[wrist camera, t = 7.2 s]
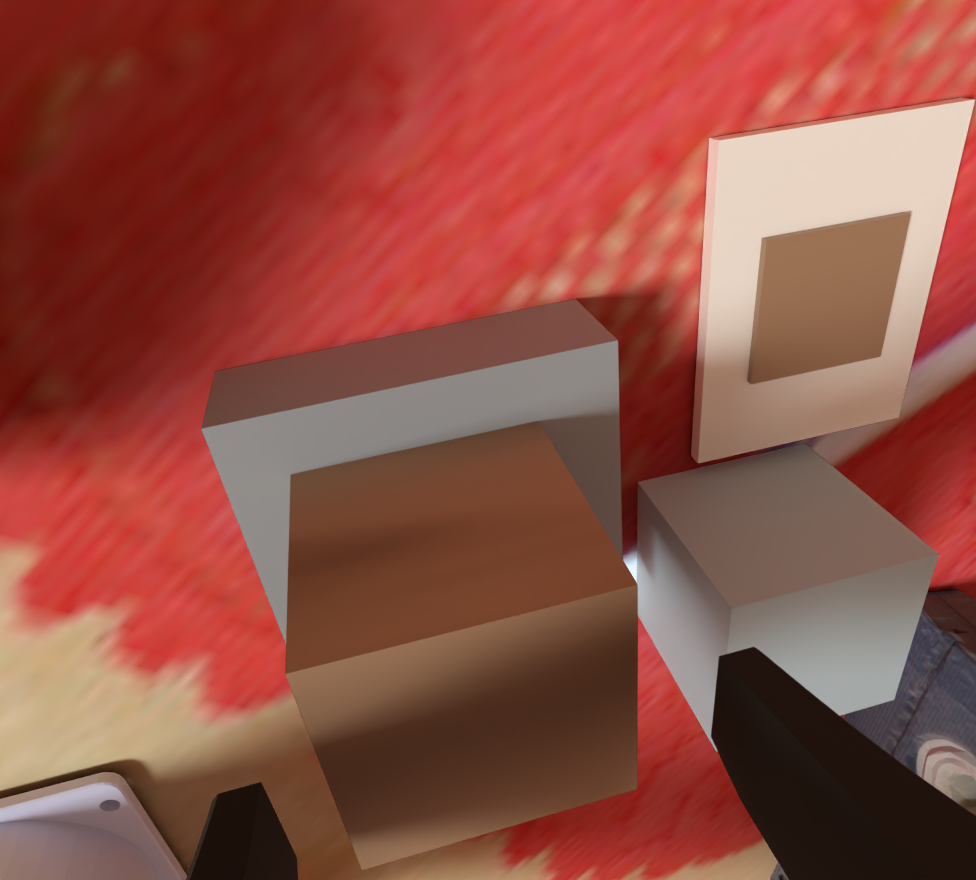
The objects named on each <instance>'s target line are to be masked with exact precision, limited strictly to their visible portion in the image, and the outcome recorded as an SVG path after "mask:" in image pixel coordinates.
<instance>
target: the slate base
mask: <svg viewBox="0 0 976 880" xmlns="http://www.w3.org/2000/svg"><path fill="white" fill-rule="evenodd" d="M536 421H539V423H540V425H541V426H542V428H543V430H544V431H545V433H546V435H547V436H548V438H549V439H550V441H551V443H552V444H553V446H554V448H555V449H556V451H557V453H558V454H559V456H560V458H561V459H562V461H563V463H564V464H565V466H566V467H567V469H568V471H569V472H570V474H571V476H572V477H573V479H574V481H575V482H576V484H577V486H578V487H579V489H580V491H581V492H582V494H583V495H584V497H585V499H586V500H587V502H588V504H589V505H590V507H591V509H592V510H593V512H594V514H595V515H596V517H597V519H598V520H599V522H600V523H601V525H602V527H603V528H604V530H605V532H606V533H607V535H608V537H609V538H610V540H611V542H612V543H613V545H614V547H615V548H616V550H617V551H618V553H619V555H620V556H621V558H622V560H623V553H622V506H621V458H620V411H619V364H618V340H617V339H616V338H615V337H614V336H613V335H612V334H611V333H610V332H609V331H608V330H607V329H606V328H605V327H604V326H603V325H602V324H601V323H600V322H599V321H598V320H597V319H596V318H595V317H594V316H593V315H592V314H591V313H590V312H588V311H587V310H586V309H585V308H584V307H583V306H582V305H581V304H580V303H579V302H578V301H577V300H576V299H572V300H567V301H562V302H557V303H552V304H547V305H542V306H537V307H532V308H527V309H522V310H517V311H512V312H507V313H502V314H497V315H493V316H488V317H483V318H478V319H473V320H468V321H463V322H458V323H453V324H448V325H443V326H438V327H433V328H428V329H423V330H418V331H413V332H408V333H403V334H398V335H393V336H388V337H383V338H378V339H373V340H368V341H363V342H358V343H353V344H348V345H343V346H338V347H334V348H329V349H324V350H319V351H314V352H309V353H304V354H299V355H294V356H289V357H284V358H279V359H274V360H269V361H264V362H259V363H254V364H249V365H244V366H239V367H234V368H229V369H224V370H219V371H215V374H214V378H213V382H212V386H211V390H210V394H209V399H208V403H207V407H206V411H205V415H204V419H203V423H202V428H201V430H202V432H203V435H204V437H205V440H206V442H207V445H208V447H209V450H210V452H211V455H212V458H213V460H214V463H215V465H216V468H217V470H218V473H219V475H220V478H221V480H222V483H223V485H224V488H225V491H226V493H227V496H228V498H229V501H230V503H231V506H232V508H233V511H234V513H235V516H236V519H237V521H238V524H239V526H240V529H241V531H242V534H243V536H244V539H245V541H246V544H247V546H248V549H249V552H250V554H251V557H252V559H253V562H254V564H255V567H256V569H257V572H258V574H259V577H260V580H261V582H262V585H263V587H264V590H265V592H266V595H267V597H268V600H269V602H270V605H271V607H272V610H273V613H274V615H275V618H276V620H277V623H278V625H279V628H280V630H281V633H282V635H283V638H284V641H285V643H286V628H287V589H288V551H289V513H290V475H291V474H295V473H299V472H304V471H309V470H313V469H318V468H322V467H327V466H332V465H336V464H341V463H346V462H350V461H355V460H359V459H364V458H369V457H373V456H378V455H382V454H387V453H392V452H396V451H401V450H405V449H410V448H415V447H419V446H424V445H429V444H433V443H438V442H443V441H447V440H452V439H457V438H461V437H466V436H471V435H475V434H480V433H485V432H489V431H494V430H499V429H503V428H508V427H513V426H517V425H522V424H526V423H531V422H536Z"/></svg>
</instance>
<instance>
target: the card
mask: <svg viewBox="0 0 976 880" xmlns="http://www.w3.org/2000/svg"><path fill="white" fill-rule="evenodd" d="M974 102H975V99H968V98H956V99H949V100H943V101H937V102H931V103H924V104H918V105H912V106H906V107H899V108H893V109H887V110H881V111H874V112H868V113H862V114H856V115H849V116H843V117H837V118H831V119H824V120H818V121H812V122H806V123H799V124H793V125H787V126H781V127H774V128H768V129H762V130H756V131H749V132H743V133H737V134H731V135H724V136H718V137H712V138H709V154H708V171H707V188H706V205H705V223H704V240H703V257H702V274H701V291H700V309H699V326H698V343H697V360H696V377H695V395H694V412H693V429H692V446H691V456H692V458H693V459H694V460H695V461H696V462H697V463H703V462H707V461H712V460H716V459H720V458H725V457H729V456H733V455H738V454H742V453H746V452H751V451H755V450H759V449H764V448H768V447H773V446H777V445H781V444H786V443H790V442H794V441H799V440H803V439H807V438H812V437H816V436H821V435H825V434H829V433H834V432H838V431H842V430H847V429H851V428H855V427H860V426H864V425H869V424H873V423H877V422H882V421H886V420H890V419H895V418H899V416H900V411H901V407H902V403H903V399H904V395H905V391H906V386H907V382H908V378H909V374H910V370H911V365H912V361H913V357H914V353H915V349H916V345H917V340H918V336H919V332H920V328H921V324H922V320H923V315H924V311H925V307H926V303H927V299H928V294H929V290H930V286H931V282H932V278H933V274H934V269H935V265H936V261H937V257H938V253H939V249H940V244H941V240H942V236H943V232H944V228H945V223H946V219H947V215H948V211H949V207H950V203H951V198H952V194H953V190H954V186H955V182H956V177H957V173H958V169H959V165H960V161H961V157H962V152H963V148H964V144H965V140H966V136H967V132H968V127H969V123H970V119H971V115H972V111H973V106H974Z"/></svg>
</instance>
